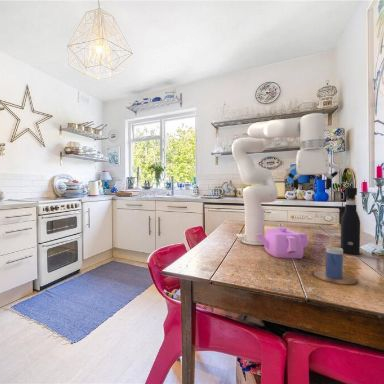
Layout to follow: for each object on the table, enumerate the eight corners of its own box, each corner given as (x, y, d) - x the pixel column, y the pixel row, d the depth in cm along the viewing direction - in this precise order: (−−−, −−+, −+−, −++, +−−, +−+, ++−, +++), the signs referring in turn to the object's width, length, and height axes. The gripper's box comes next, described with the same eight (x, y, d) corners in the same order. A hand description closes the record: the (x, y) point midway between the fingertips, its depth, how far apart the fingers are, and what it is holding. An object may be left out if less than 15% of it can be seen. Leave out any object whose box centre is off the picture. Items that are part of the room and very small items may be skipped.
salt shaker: (326, 277, 80) (326, 249, 80) (324, 273, 84) (324, 245, 84) (344, 280, 78) (345, 250, 77) (341, 275, 82) (341, 247, 81)
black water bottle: (351, 250, 111) (352, 187, 110) (363, 254, 105) (365, 187, 104) (336, 250, 112) (338, 187, 111) (347, 254, 106) (349, 188, 104)
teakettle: (295, 262, 97) (296, 232, 97) (254, 252, 111) (254, 227, 111) (311, 254, 107) (311, 227, 106) (271, 246, 121) (271, 223, 120)
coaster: (315, 280, 79) (315, 279, 79) (311, 269, 89) (311, 268, 89) (360, 287, 73) (360, 286, 73) (351, 275, 83) (351, 274, 83)
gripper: (338, 145, 91) (338, 189, 91) (285, 149, 100) (285, 189, 101) (343, 142, 84) (343, 189, 85) (285, 147, 94) (285, 189, 94)
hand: (311, 189), depth 93 cm, fingers open, 9 cm apart
